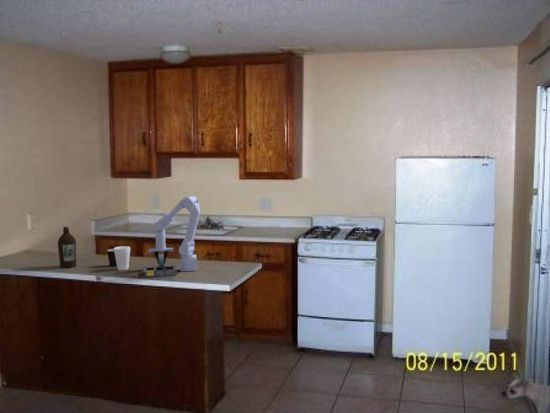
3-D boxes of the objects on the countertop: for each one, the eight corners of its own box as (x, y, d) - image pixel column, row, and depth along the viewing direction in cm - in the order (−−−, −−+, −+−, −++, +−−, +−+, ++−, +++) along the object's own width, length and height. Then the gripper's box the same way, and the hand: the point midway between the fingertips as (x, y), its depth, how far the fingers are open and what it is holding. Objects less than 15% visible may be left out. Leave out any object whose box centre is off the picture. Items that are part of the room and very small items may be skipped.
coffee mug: (108, 267, 352) (107, 251, 351) (107, 265, 360) (106, 249, 359) (127, 266, 357) (127, 250, 356) (126, 263, 365) (125, 247, 363)
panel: (164, 267, 351) (163, 254, 350) (164, 269, 344) (163, 256, 343) (159, 267, 351) (158, 254, 350) (159, 270, 343) (158, 256, 342)
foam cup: (118, 271, 342) (117, 249, 341) (112, 268, 349) (111, 247, 348) (133, 269, 348) (132, 247, 346) (127, 266, 355) (126, 245, 354)
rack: (176, 270, 341) (176, 265, 341) (177, 275, 328) (176, 269, 328) (143, 272, 338) (143, 266, 337) (143, 277, 325) (142, 271, 324)
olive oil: (57, 266, 359) (55, 226, 356) (74, 264, 365) (72, 225, 362) (61, 269, 350) (59, 228, 347) (79, 267, 356) (77, 227, 353)
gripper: (172, 239, 351) (173, 261, 352) (148, 240, 348) (149, 263, 349) (173, 241, 344) (173, 263, 345) (148, 242, 341) (149, 265, 342)
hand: (161, 263), depth 347 cm, fingers closed on panel, 3 cm apart
